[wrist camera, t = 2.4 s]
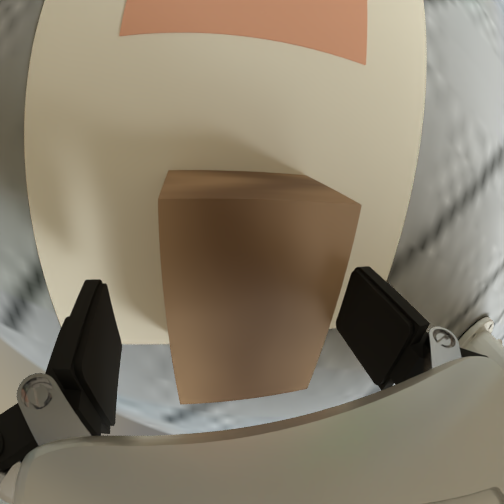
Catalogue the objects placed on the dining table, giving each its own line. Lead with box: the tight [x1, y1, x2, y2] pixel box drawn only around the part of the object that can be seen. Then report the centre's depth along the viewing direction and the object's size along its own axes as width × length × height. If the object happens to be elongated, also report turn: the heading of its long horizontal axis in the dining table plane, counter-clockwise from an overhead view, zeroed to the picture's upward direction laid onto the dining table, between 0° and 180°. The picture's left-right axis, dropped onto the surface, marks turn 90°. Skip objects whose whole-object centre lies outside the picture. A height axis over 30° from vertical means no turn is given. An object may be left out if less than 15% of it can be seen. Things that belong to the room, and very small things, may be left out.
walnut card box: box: [158, 170, 362, 404], centre depth 11 cm, size 6×9×4 cm, turn 175°
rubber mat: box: [24, 0, 426, 344], centre depth 9 cm, size 20×28×1 cm
